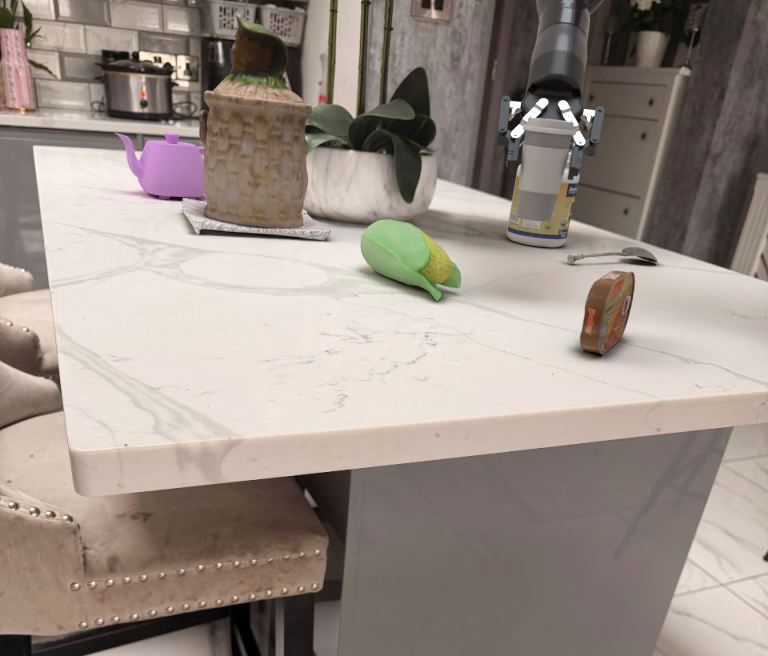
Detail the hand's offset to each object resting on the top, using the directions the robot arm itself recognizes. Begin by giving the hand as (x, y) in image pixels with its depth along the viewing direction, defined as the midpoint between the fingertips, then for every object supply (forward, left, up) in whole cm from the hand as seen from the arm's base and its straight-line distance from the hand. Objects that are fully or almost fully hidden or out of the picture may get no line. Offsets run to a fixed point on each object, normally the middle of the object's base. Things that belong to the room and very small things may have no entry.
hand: (542, 172), depth 100 cm
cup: (0, -2, -6) cm, 6 cm away
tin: (-10, +16, -17) cm, 26 cm away
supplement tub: (-4, -53, -17) cm, 56 cm away
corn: (+16, -2, -17) cm, 24 cm away
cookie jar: (+48, -31, -17) cm, 60 cm away
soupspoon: (-18, -41, -17) cm, 48 cm away
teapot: (+72, -50, -17) cm, 90 cm away
